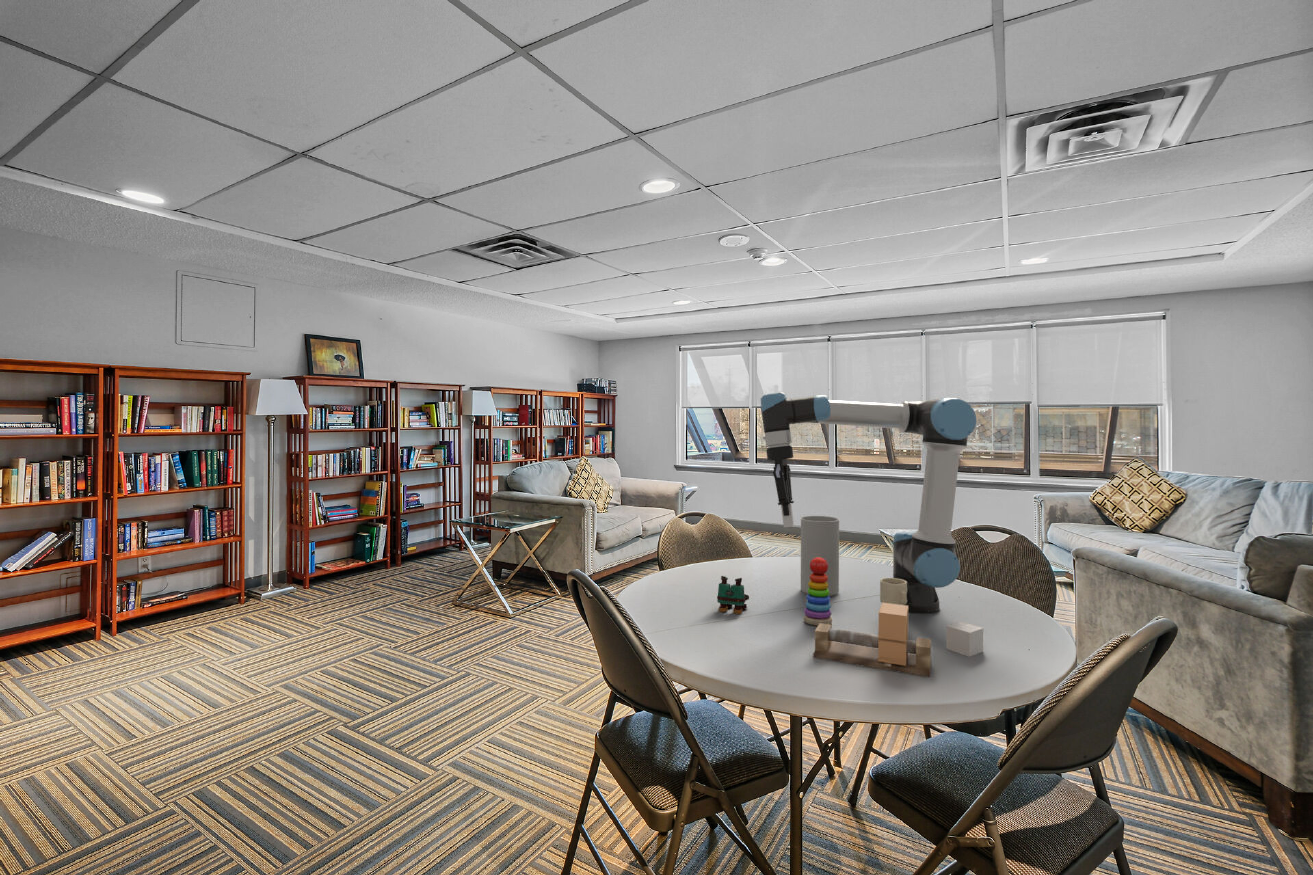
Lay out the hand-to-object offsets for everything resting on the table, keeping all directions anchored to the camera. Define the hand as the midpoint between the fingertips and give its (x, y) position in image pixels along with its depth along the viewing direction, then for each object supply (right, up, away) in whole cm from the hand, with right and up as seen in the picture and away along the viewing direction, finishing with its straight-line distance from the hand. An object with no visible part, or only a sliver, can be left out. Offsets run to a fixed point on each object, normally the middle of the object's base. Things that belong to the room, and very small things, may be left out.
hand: (788, 526), depth 173 cm
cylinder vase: (+17, -27, +29) cm, 43 cm away
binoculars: (-15, -27, +11) cm, 33 cm away
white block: (+39, -28, -23) cm, 53 cm away
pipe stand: (+14, -28, -28) cm, 42 cm away
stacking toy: (+8, -28, -2) cm, 29 cm away
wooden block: (+18, -27, -31) cm, 45 cm away
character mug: (+28, -28, -5) cm, 40 cm away
